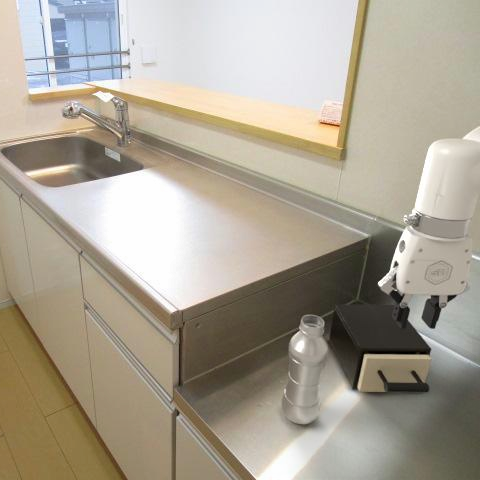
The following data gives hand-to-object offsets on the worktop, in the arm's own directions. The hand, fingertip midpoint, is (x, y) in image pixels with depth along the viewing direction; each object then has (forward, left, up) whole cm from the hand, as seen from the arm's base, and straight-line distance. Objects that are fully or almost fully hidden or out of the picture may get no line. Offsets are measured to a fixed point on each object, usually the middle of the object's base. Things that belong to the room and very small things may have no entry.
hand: (413, 322), depth 75 cm
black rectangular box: (0, -10, -17) cm, 20 cm away
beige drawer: (0, -6, -16) cm, 17 cm away
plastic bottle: (+18, +4, -18) cm, 25 cm away
